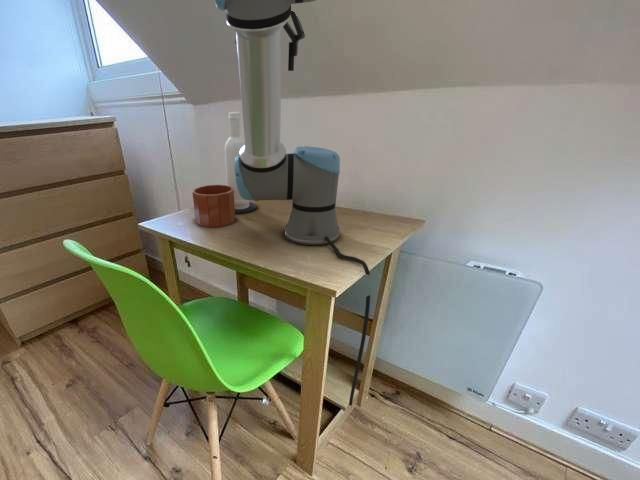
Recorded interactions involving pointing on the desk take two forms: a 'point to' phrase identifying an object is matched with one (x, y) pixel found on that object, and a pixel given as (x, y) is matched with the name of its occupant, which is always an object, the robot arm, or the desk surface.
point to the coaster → (247, 209)
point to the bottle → (231, 152)
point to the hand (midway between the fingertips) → (268, 72)
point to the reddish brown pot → (214, 205)
